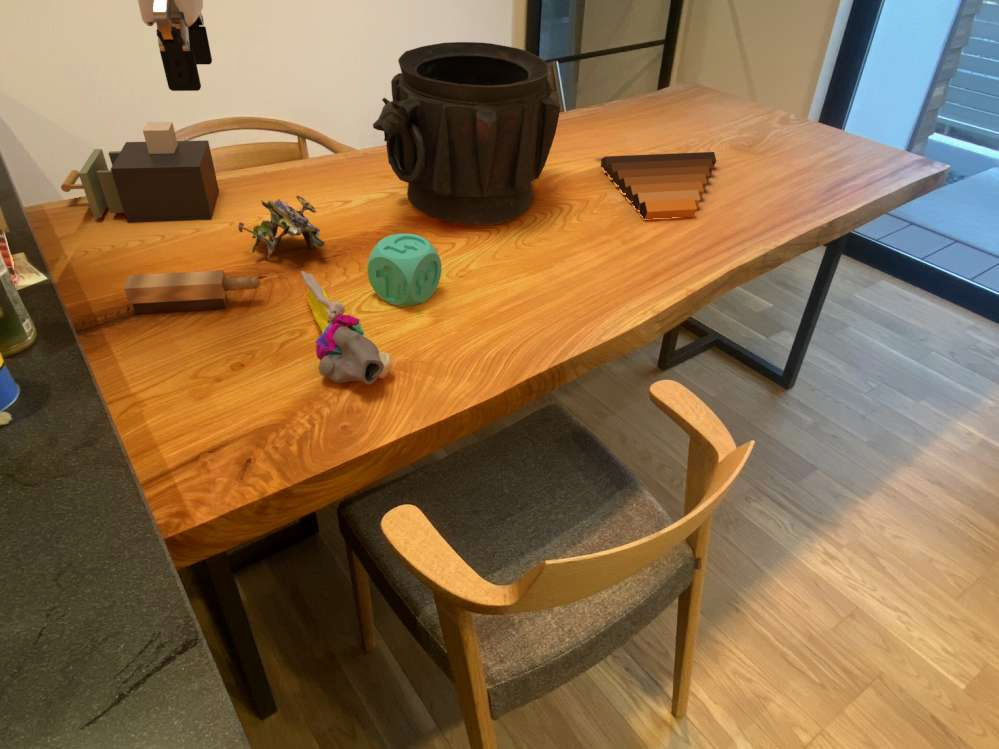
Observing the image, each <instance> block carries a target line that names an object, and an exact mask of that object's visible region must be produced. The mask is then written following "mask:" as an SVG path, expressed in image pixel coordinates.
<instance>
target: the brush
mask: <svg viewBox="0 0 999 749" xmlns="http://www.w3.org/2000/svg"><path fill="white" fill-rule="evenodd" d="M260 286H261V280H260V279H259V278H258V277H257V276H240V277H226V273H225V270H224V269H223V270H206V271H205V270H204V271H203V270H202V271H201V270H200V271H184V272H165V273H145V274H129V275H128V278H127V280H126V283H125V285H124V288H123V290H124V292H125V296H126V298H127V301H128V304H129V305H132V307H133V310H134V312H135V315H151V314H163V313H164V314H165V313H180V312H197V311H213V310H215V311H216V310H225V309H227V302H228V294H227V292H228V291H229V292H231V291H246V290H249V291H250V290H257V289H259V288H260Z"/></svg>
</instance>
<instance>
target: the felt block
mask: <svg viewBox="0 0 999 749" xmlns="http://www.w3.org/2000/svg"><path fill="white" fill-rule="evenodd" d="M142 134H143V136H144V142H146V144H147V148H148V151H149V154H170V153H175V150H176V148H177V145H178V143H177V141H178V140H177V136H176V131H175V127H174V122H173V121H147V122H146V123H145V126H144V128H143V129H142Z"/></svg>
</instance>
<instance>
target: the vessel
mask: <svg viewBox="0 0 999 749" xmlns="http://www.w3.org/2000/svg"><path fill="white" fill-rule="evenodd" d="M397 61H398V65H399V69H400V73H396V75H394V76H393V77H392V79H391V81H390V83H391V84H390V85H391V86H390V87H391V98H392V100H389V99H387V98H386V97H383V98H382V99H381V101H382V102H383V103H384V105H383V106H382V109H381V112H380V114H379V116H378V119H376V121H374V122H373V123H372V129H375V130H377V131H380V132H383V134H384V139H383V142H386V143H385V144H386V153H387V154H386V155H387V159H388V160H387V161H388V164H389V165H390V167H391V170H392V171H393V173H394V174H395V176H396V177H397V178H398V179H399V181H402V182H405V183H407V184H408V185H407V194H406V195H407V198H408V199H407V200H408V201H409V203H410V204H411V206H412V207H414V208H415V209H416V210H417V211H419V212H421V213H423V214H424V215H426V216H428V217H429V218H433V219H434V220H435V219H436V220H439V221H442V222H446V223H451V224H455V225H463V226H474V227H475V226H490V225H493V226H494V225H500V224H504V223H507V222H511V221H514V220H516V219H517V218H520V217H521V216H522V215H524V214H525V213H526V212H527V211H529V210H530V207H531V203H532V200H533V195H532V194H533V193H532V182H534V181H535V180H538V179H539V178H540V177H541V174H542V172H543V170H544V169H545V166H546V163H547V160H548V157H549V155H550V152H551V149H552V145H553V142H554V139H555V136H556V132H557V127H558V122H559V119H560V118H559V117H560V105H559V104H558V103H557V101H556V100H555V98H553V97H551V95H552V92H553V88H552V84H551V82H550V81H549V79H548V78H549V73H550V68H549V65H548V63H547V62H546V61H545V60H544V59H543V58H542V57H539V56H538V55H536V54H534V53H532V52H530V51H528V50H524V49H521V48H519V47H512V46H507V45H502V44H496V43H489V42H475V41H474V42H473V41H455V42H453V41H452V42H441V43H434V44H428V45H423V46H418V47H415V48H412V49H409V50H406V51H404V53H402V54H401V55H400V56H399V58H398V60H397Z"/></svg>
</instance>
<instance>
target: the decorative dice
mask: <svg viewBox="0 0 999 749" xmlns="http://www.w3.org/2000/svg"><path fill="white" fill-rule="evenodd" d="M442 267H443V266H442V260H441V257H440V255H439V253H438V251H437V249H436V248H435V246H434V245H433V244H432V243H431V242H430V241H429V240H427V239H426V238H424V237H423V236H421V235H418V234H413V233H395V234H391V235H388V236H385V237H382V239H380V240H379V241H378V242H377V243H376V244H375V245H374V247H373V248H372V250H371V252H370V255H369V257H368V261H367V267H366V268H367V270H366V272H367V277H368V282H369V284H370V286H371V288H372V289H373V291H374V292H375V293H376V295H377V296H378V297H379V298H381V300H382V301H384V302H386V303H388V304H390V305H393V306H396V307H397V306H398V307H413V306H417V305H420V304H423V303H425V302H426V301H428V300H429V299H430V298H431V297H432V295H433V294H434V293H435V291H436V290H437V287H438V286H439V284H440V280H441V276H442Z"/></svg>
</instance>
